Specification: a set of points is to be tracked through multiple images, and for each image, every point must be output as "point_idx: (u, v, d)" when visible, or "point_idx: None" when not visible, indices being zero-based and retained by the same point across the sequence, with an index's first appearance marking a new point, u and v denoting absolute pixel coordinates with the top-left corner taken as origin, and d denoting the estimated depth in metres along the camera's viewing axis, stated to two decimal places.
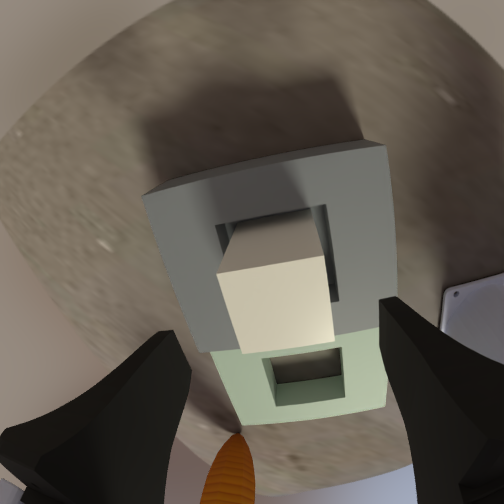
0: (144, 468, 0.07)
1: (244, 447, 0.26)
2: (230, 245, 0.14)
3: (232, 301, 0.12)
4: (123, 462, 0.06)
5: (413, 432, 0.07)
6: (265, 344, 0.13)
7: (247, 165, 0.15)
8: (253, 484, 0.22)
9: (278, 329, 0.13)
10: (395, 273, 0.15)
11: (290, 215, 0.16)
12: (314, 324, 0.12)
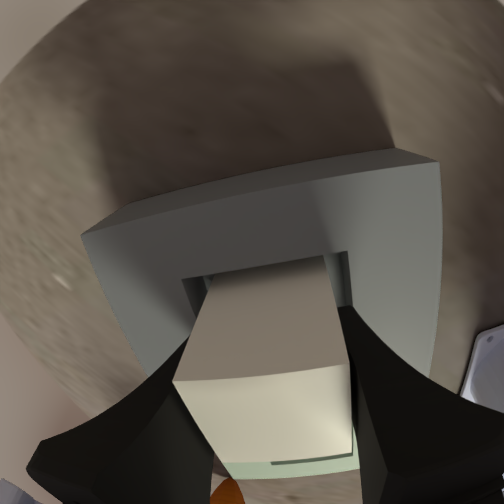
0: (193, 473, 0.07)
1: (237, 495, 0.21)
2: (201, 314, 0.09)
3: (201, 414, 0.07)
4: (175, 469, 0.06)
5: (359, 444, 0.07)
6: (253, 456, 0.08)
7: (229, 188, 0.10)
8: None
9: (270, 444, 0.08)
10: (433, 337, 0.10)
11: (292, 260, 0.11)
12: (324, 439, 0.07)
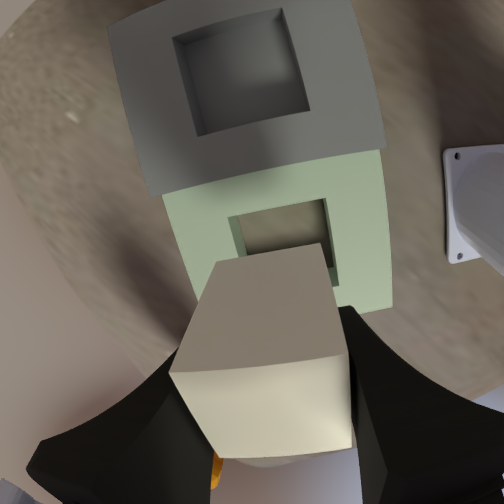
0: (193, 473, 0.07)
1: None
2: (199, 307, 0.09)
3: (198, 406, 0.07)
4: (175, 469, 0.06)
5: (359, 445, 0.07)
6: (251, 451, 0.08)
7: None
8: None
9: (269, 439, 0.07)
10: (371, 80, 0.12)
11: (290, 253, 0.11)
12: (323, 433, 0.07)
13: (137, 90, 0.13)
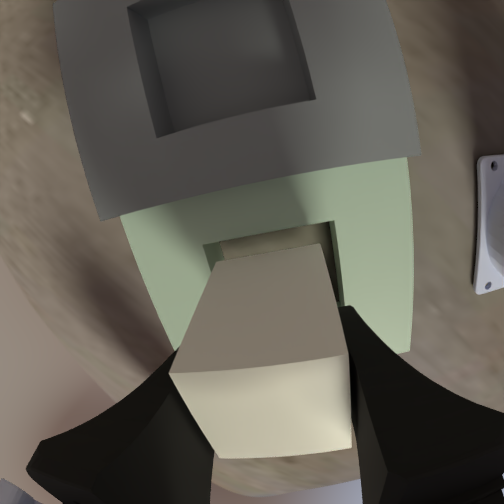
0: (193, 473, 0.07)
1: None
2: (199, 307, 0.09)
3: (198, 407, 0.07)
4: (175, 469, 0.06)
5: (359, 445, 0.07)
6: (251, 452, 0.08)
7: None
8: None
9: (269, 439, 0.07)
10: (401, 59, 0.08)
11: (290, 254, 0.11)
12: (323, 434, 0.07)
13: (82, 79, 0.09)
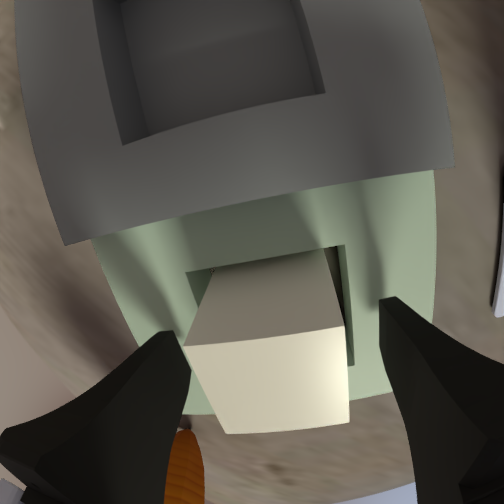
0: (144, 468, 0.07)
1: (192, 451, 0.16)
2: (208, 291, 0.10)
3: (208, 380, 0.08)
4: (123, 462, 0.06)
5: (413, 432, 0.07)
6: (256, 426, 0.09)
7: None
8: None
9: (273, 412, 0.08)
10: (431, 46, 0.06)
11: None
12: (323, 406, 0.08)
13: (39, 76, 0.07)
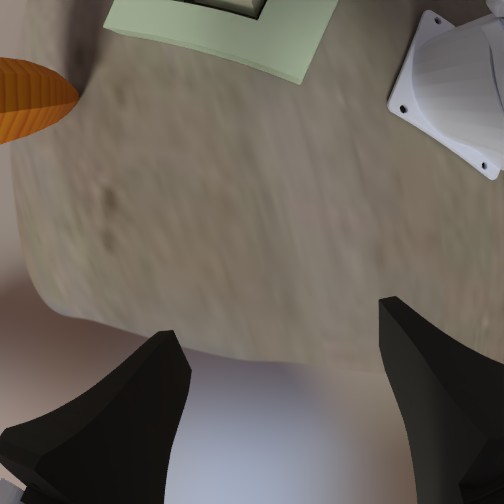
0: (144, 468, 0.07)
1: (71, 89, 0.15)
2: None
3: None
4: (123, 462, 0.06)
5: (413, 432, 0.07)
6: None
7: None
8: (39, 102, 0.12)
9: None
10: None
11: None
12: None
13: None
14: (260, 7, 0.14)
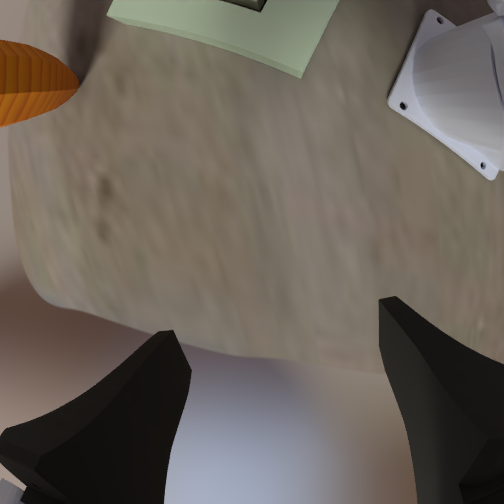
0: (144, 468, 0.07)
1: (72, 76, 0.14)
2: None
3: None
4: (123, 462, 0.06)
5: (413, 432, 0.07)
6: None
7: None
8: (39, 86, 0.11)
9: None
10: None
11: None
12: None
13: None
14: (263, 1, 0.14)
